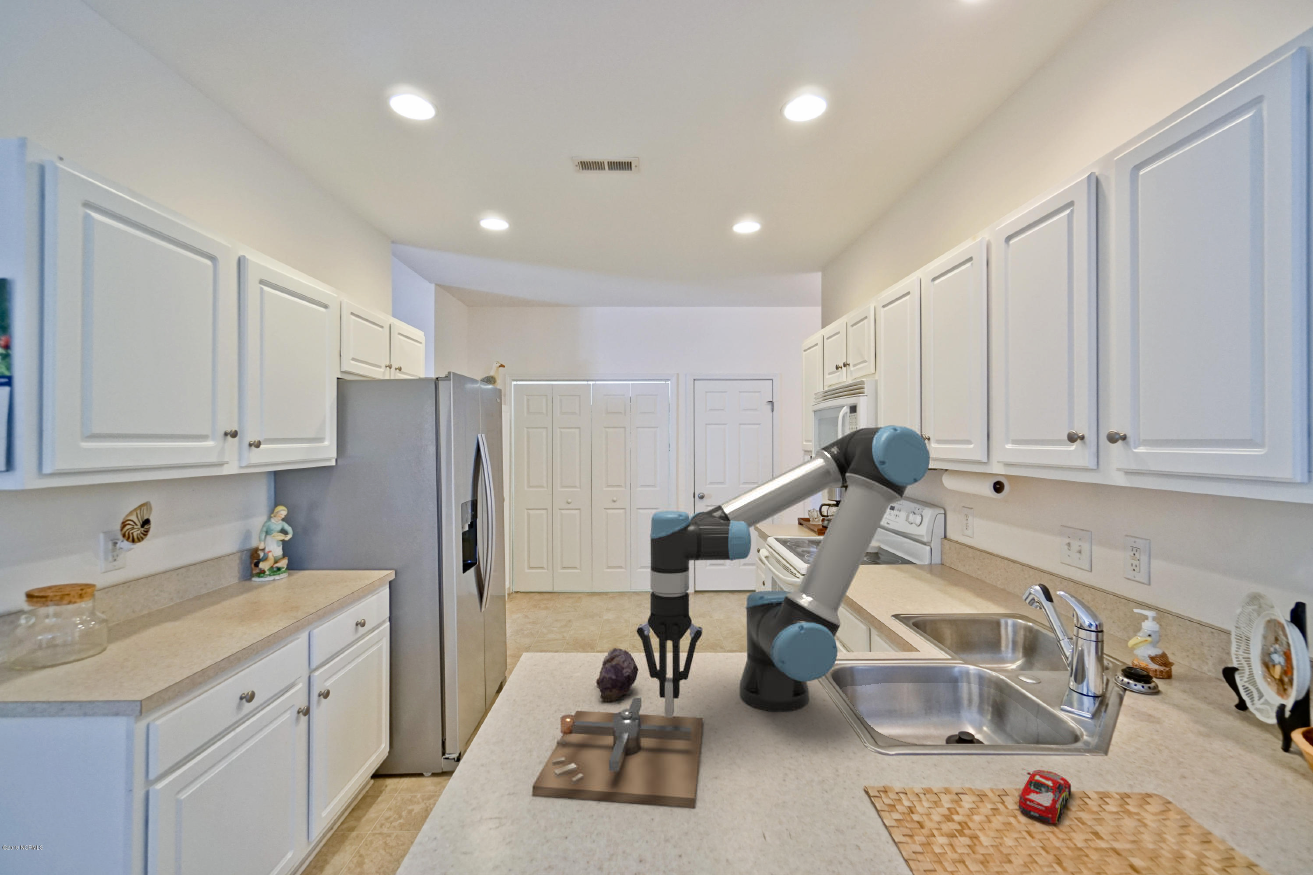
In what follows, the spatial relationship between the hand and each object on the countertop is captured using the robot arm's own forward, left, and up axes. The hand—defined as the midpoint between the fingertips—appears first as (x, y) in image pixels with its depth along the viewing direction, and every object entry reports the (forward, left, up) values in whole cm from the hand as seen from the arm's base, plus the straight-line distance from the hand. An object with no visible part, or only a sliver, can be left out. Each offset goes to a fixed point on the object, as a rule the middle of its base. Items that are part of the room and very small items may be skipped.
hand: (669, 713), depth 109 cm
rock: (+14, -18, -4) cm, 23 cm away
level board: (+7, +8, -4) cm, 12 cm away
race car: (-60, +13, -5) cm, 62 cm away
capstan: (+7, +8, -3) cm, 11 cm away
